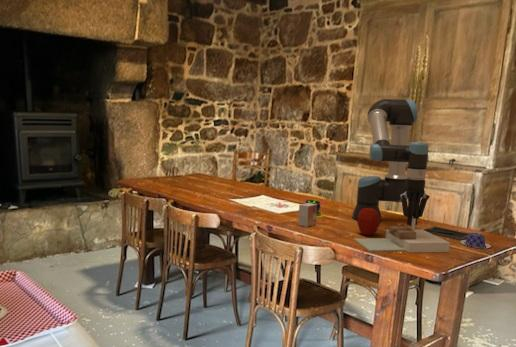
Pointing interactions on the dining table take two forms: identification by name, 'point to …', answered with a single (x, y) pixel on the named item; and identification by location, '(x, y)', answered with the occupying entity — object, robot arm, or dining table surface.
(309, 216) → the small box
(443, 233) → the picture frame
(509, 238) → the dining table surface
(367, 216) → the dark red rounded piece
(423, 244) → the cream flat block
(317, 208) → the toy cauldron
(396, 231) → the walnut block
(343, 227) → the dining table surface
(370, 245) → the mat
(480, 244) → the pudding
